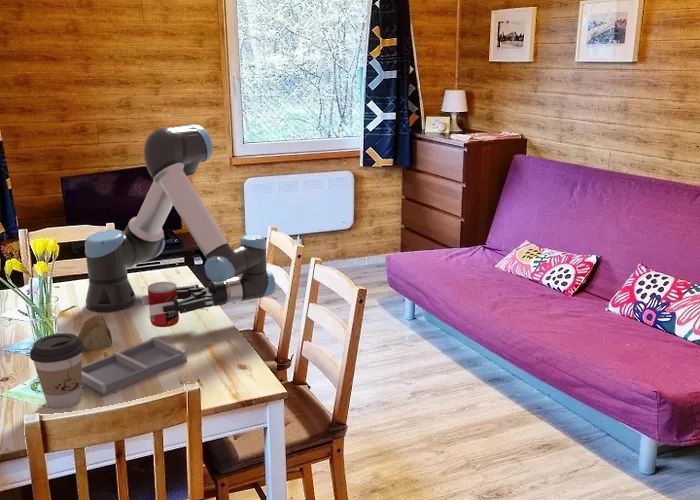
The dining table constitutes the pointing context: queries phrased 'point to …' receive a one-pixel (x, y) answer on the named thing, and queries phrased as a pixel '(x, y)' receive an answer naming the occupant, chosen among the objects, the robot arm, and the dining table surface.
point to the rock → (95, 334)
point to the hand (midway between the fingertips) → (146, 305)
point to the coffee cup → (59, 368)
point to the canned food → (163, 294)
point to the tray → (131, 366)
